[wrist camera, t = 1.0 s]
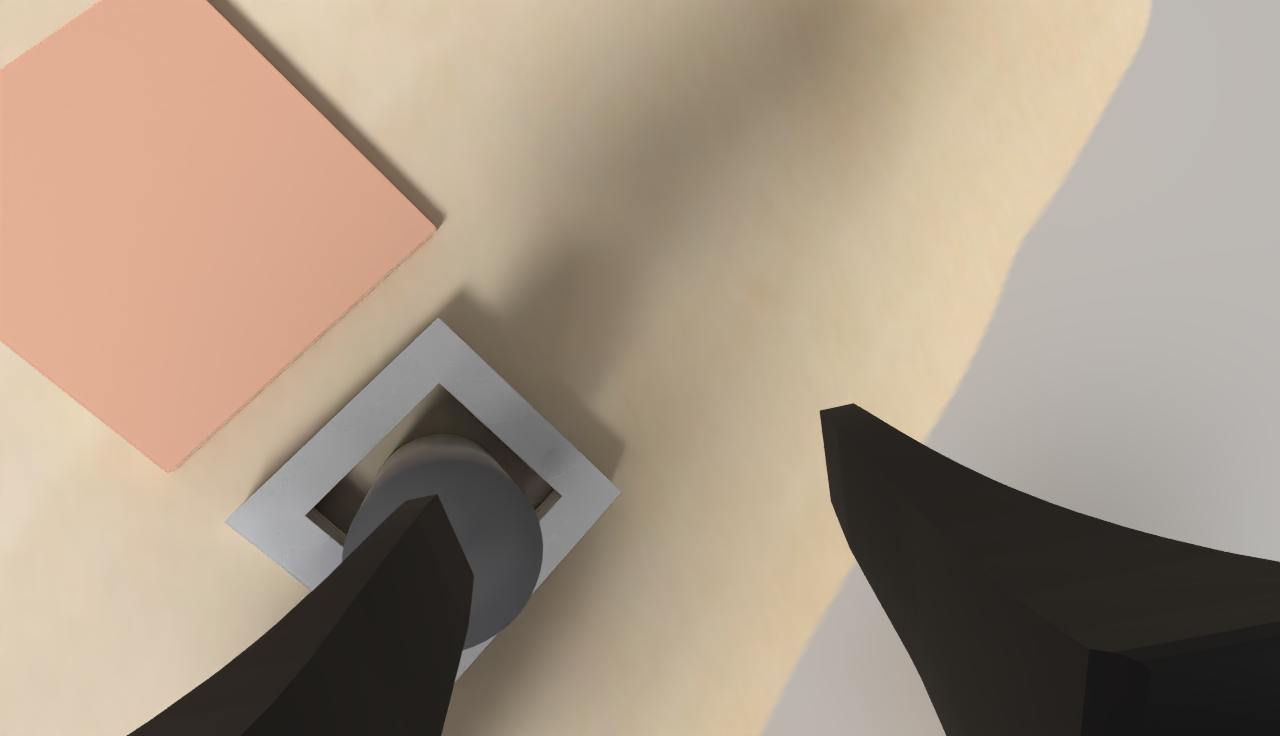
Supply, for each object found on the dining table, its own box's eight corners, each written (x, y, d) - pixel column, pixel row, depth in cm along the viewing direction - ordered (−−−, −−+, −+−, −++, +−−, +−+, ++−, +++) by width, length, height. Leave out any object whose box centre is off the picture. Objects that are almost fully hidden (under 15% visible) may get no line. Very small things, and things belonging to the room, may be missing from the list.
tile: (174, 470, 20) (167, 473, 19) (-163, 202, 18) (-184, 195, 17) (436, 231, 23) (436, 227, 22) (170, -31, 20) (163, -43, 20)
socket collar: (442, 675, 22) (443, 695, 21) (238, 512, 20) (224, 521, 19) (610, 485, 24) (621, 491, 23) (437, 321, 22) (438, 317, 21)
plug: (441, 588, 22) (449, 693, 15) (341, 504, 21) (294, 571, 14) (530, 490, 23) (580, 542, 16) (439, 407, 22) (445, 419, 15)
